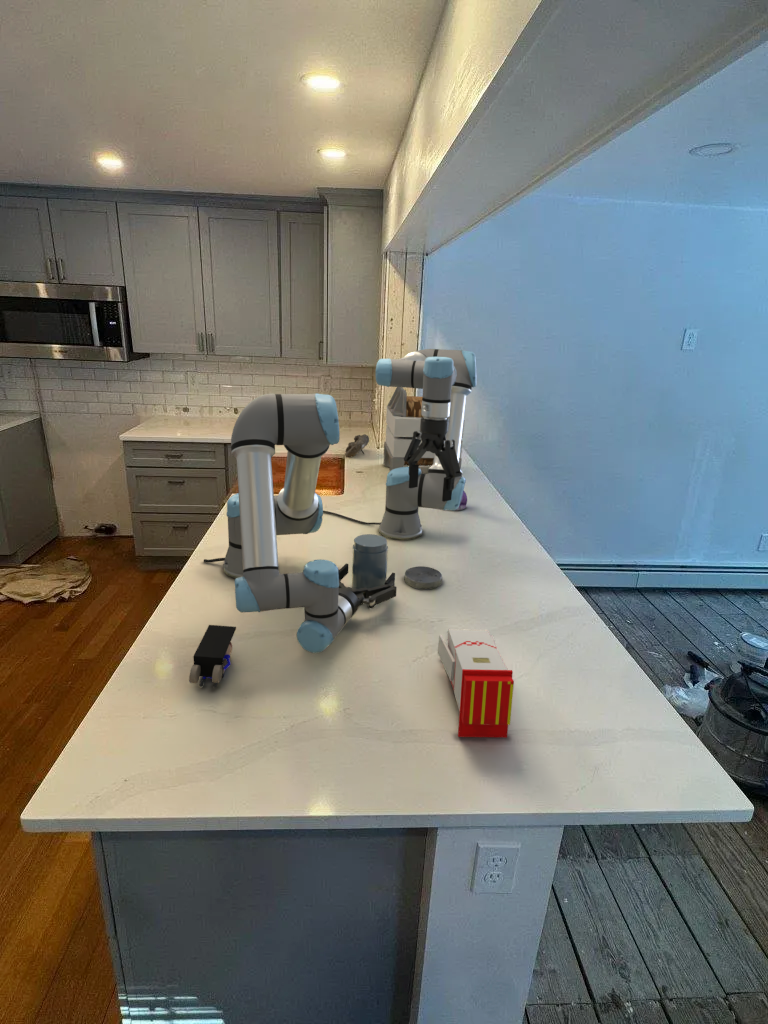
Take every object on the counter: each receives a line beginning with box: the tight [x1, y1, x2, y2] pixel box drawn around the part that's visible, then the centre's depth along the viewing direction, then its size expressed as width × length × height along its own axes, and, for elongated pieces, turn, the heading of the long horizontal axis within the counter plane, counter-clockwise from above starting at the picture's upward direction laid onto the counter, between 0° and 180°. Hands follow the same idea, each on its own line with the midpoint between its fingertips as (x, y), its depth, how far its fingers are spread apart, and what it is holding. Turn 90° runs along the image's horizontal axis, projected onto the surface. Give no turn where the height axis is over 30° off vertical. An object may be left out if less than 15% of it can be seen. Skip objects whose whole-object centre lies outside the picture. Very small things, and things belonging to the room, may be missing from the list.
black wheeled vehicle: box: [188, 624, 237, 689], centre depth 120 cm, size 7×8×15 cm
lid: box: [403, 565, 443, 590], centre depth 166 cm, size 11×11×2 cm
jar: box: [351, 533, 389, 594], centre depth 155 cm, size 10×10×16 cm
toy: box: [437, 628, 515, 738], centre depth 117 cm, size 12×13×30 cm
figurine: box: [455, 490, 468, 511], centre depth 227 cm, size 9×10×15 cm
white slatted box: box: [383, 387, 465, 472], centre depth 268 cm, size 34×33×41 cm
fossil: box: [344, 433, 370, 458], centre depth 304 cm, size 22×10×15 cm
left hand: (370, 572), depth 155 cm, fingers open, 13 cm apart
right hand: (429, 493), depth 157 cm, fingers open, 13 cm apart
